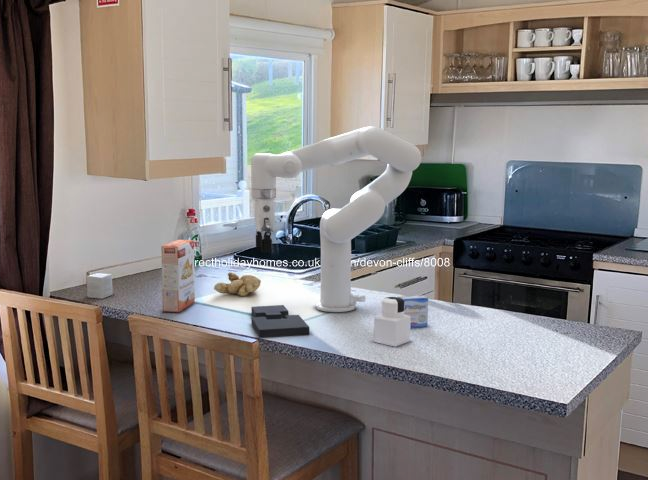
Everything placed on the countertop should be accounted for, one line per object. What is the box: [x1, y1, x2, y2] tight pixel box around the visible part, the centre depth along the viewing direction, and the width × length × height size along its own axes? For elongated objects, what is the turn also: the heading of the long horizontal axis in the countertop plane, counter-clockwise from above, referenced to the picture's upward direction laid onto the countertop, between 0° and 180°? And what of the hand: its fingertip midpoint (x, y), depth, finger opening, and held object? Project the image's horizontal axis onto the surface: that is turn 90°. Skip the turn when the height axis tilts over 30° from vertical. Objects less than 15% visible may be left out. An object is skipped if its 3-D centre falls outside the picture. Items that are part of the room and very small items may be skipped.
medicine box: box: [398, 294, 429, 329], centre depth 220 cm, size 8×4×9 cm, turn 105°
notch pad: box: [251, 314, 310, 339], centre depth 216 cm, size 14×14×2 cm
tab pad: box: [251, 304, 290, 320], centre depth 230 cm, size 10×11×2 cm
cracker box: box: [160, 239, 196, 313], centre depth 240 cm, size 14×6×21 cm, turn 168°
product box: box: [86, 272, 114, 300], centre depth 256 cm, size 6×6×7 cm
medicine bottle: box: [373, 296, 411, 348], centre depth 203 cm, size 7×7×12 cm
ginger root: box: [213, 271, 262, 297], centre depth 262 cm, size 16×16×8 cm
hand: (263, 249), depth 236 cm, fingers open, 9 cm apart
